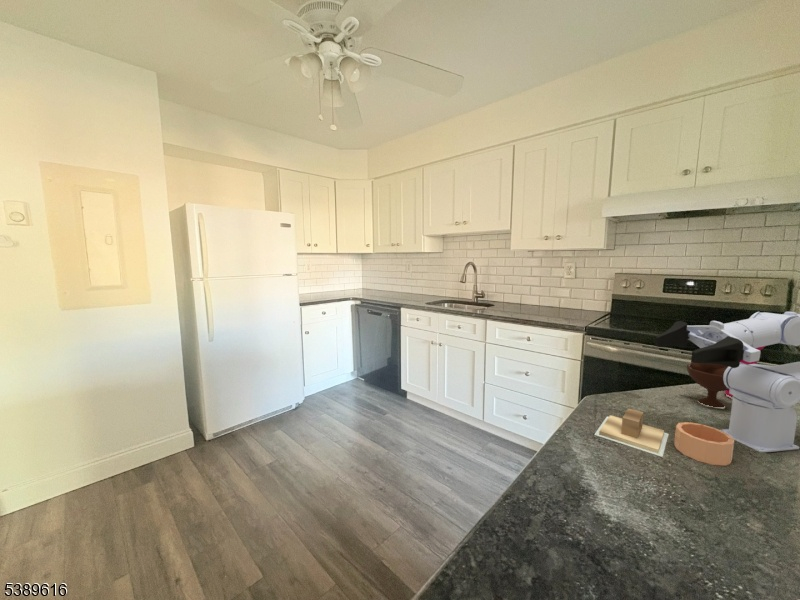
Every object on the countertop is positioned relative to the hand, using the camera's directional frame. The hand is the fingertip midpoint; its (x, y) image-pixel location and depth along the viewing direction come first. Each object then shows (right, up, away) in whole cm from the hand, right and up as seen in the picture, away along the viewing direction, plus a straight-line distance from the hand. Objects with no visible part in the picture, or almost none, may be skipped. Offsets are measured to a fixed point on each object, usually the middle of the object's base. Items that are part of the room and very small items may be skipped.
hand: (673, 349), depth 63 cm
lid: (-3, -19, +7) cm, 21 cm away
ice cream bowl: (+28, -18, +22) cm, 40 cm away
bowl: (+5, -21, 0) cm, 21 cm away
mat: (-3, -20, +7) cm, 21 cm away
